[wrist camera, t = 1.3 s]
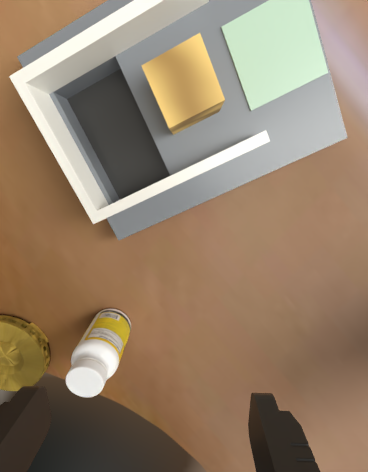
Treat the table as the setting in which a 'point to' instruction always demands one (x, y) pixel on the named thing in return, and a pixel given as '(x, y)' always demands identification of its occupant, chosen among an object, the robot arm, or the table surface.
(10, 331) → the gold flat disc
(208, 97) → the mustard block
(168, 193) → the walled pit deck
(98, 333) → the supplement bottle
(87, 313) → the table surface
